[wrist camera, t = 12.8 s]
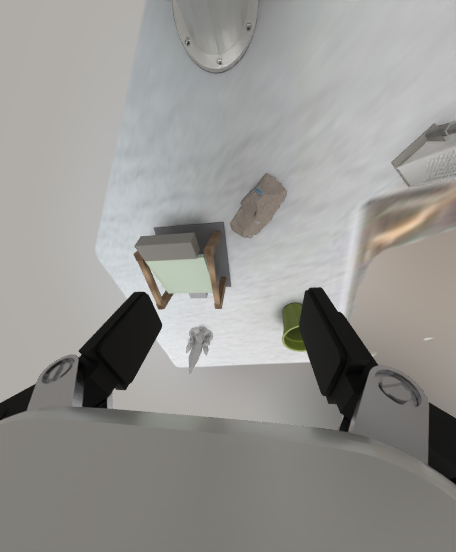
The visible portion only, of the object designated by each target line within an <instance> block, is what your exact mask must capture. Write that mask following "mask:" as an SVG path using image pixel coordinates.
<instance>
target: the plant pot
mask: <svg viewBox="0 0 456 552" xmlns="http://www.w3.org/2000/svg"><path fill="white" fill-rule="evenodd" d="M301 310H302V305H301V304H299V303H292V304H289V305H287V306H286V307H285V308H284V309H283V323H284V332H283V337H282V342H283V344H284V346H285V347H287V348H288V349H290V350H293V351H301V352H304V351H306V348H305V345H304V342H303V339H302V336H301V333H300V330H299V321H300V315H301Z"/></svg>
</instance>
